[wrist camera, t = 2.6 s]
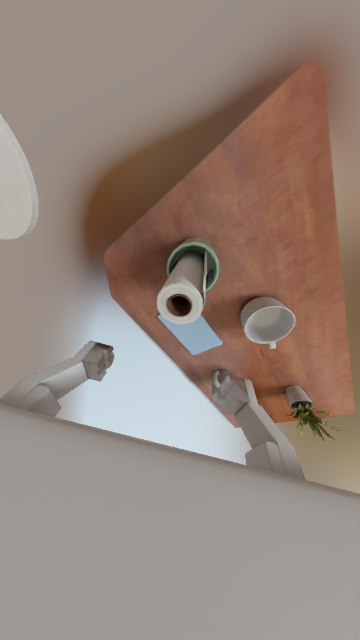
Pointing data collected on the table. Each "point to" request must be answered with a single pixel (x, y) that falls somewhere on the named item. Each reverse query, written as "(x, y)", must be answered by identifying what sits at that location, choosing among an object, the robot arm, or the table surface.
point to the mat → (194, 334)
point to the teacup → (266, 321)
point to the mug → (218, 384)
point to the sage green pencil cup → (200, 246)
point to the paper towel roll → (184, 289)
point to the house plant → (304, 410)
